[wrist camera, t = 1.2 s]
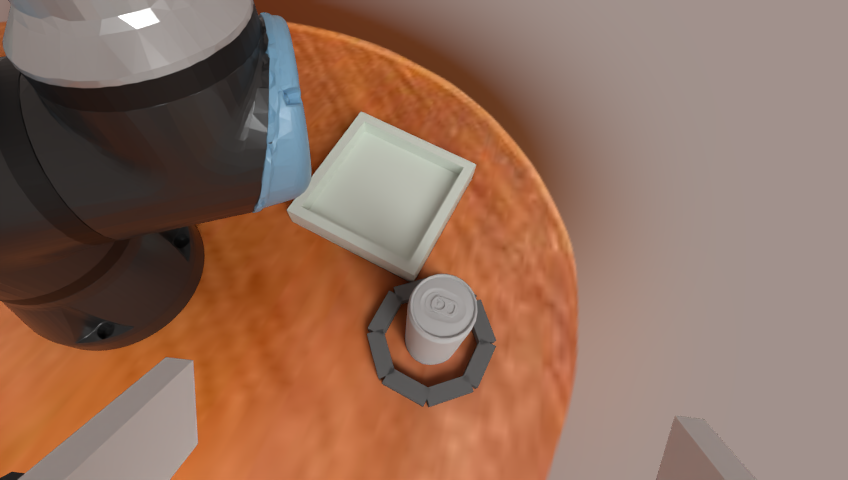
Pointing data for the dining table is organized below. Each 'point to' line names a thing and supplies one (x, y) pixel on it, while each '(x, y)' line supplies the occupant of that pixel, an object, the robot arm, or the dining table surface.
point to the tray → (383, 195)
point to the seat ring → (407, 384)
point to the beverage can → (439, 318)
